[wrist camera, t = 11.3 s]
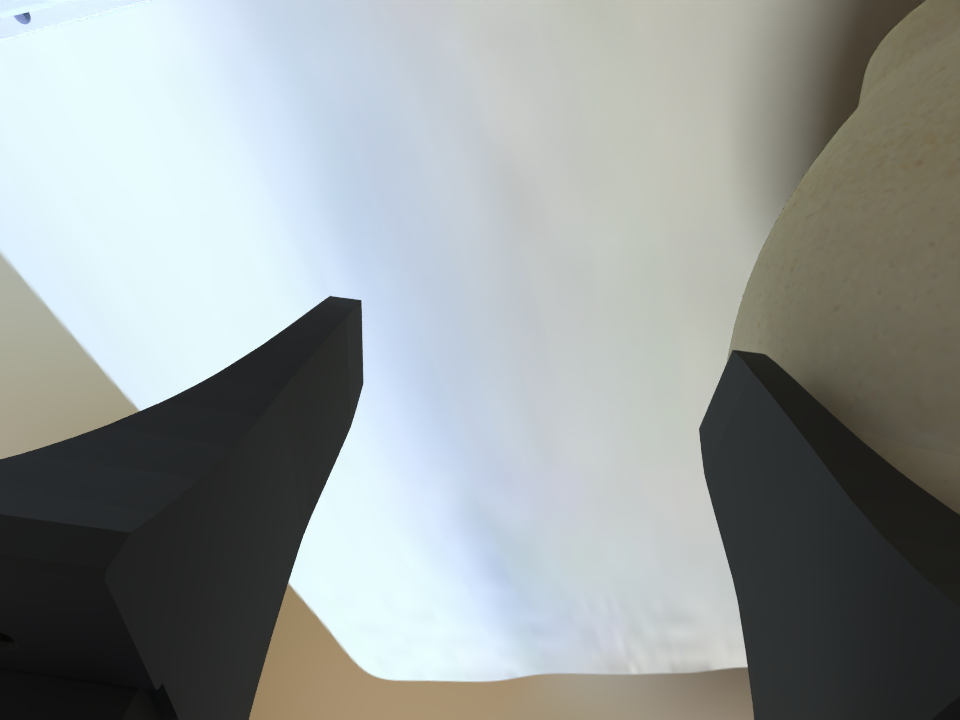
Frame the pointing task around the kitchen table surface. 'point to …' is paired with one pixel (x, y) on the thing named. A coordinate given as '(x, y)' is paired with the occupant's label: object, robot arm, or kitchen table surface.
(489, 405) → the kitchen table surface
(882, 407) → the planter bowl
